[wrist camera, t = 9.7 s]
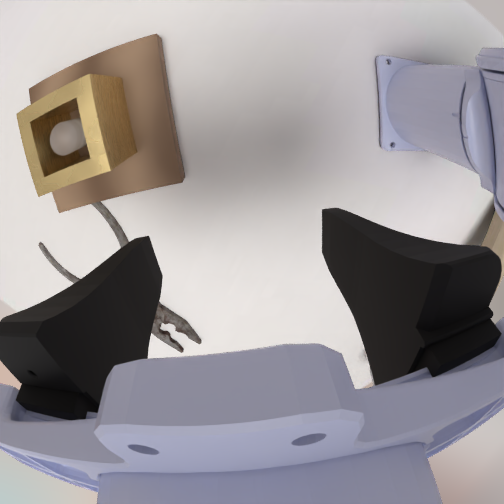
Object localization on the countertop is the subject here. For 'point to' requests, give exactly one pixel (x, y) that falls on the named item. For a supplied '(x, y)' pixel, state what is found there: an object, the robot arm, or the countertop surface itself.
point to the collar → (94, 126)
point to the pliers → (162, 312)
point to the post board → (141, 117)
